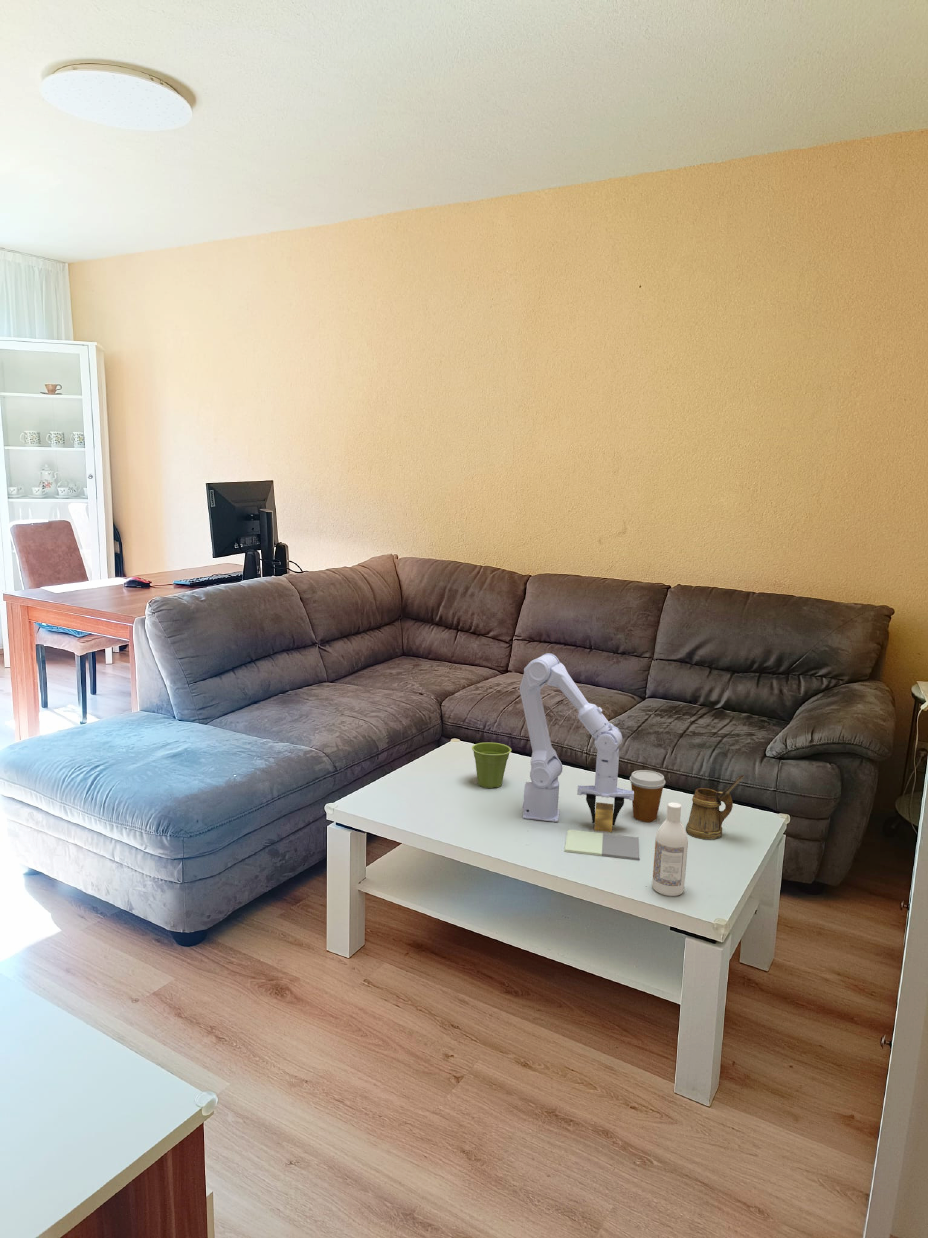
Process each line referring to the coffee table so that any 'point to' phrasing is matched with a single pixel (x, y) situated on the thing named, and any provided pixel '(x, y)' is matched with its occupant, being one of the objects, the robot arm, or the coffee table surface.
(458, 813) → the coffee table surface
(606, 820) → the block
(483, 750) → the plant pot
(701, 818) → the wooden mug
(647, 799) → the disposable coffee cup
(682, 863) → the bath foam
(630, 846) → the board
